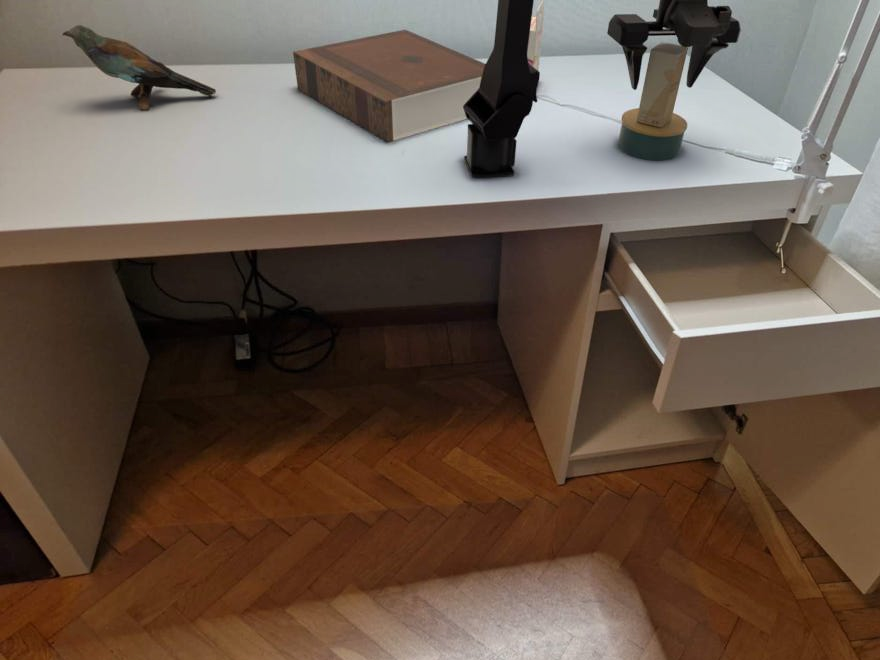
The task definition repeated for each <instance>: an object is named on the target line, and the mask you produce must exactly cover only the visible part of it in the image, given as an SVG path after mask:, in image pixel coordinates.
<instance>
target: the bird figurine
mask: <svg viewBox="0 0 880 660" xmlns="http://www.w3.org/2000/svg"><path fill="white" fill-rule="evenodd" d="M61 36H64V37H65V36H66V37H68V38H71V39H72V40H73V41H74V43H75V45H76V46H77V47H78V48H79V49H81V51H82V52H83V53H84V54H85V55H86V56H87V58H89V60H90V61H91V62H92V64H94V66H95V67H96V68H97V69H98V70H99V71H100V72H101V73H103V74H105V75H107V76H108V77H111V78H117V79H121V80H123V81H125V82H129V83H133V84H138V85H136V86H135V87H134V88H133V89H132V90H131V92H130V96H131V97H133V98H135V99H138V102H139V104H138V106H139V108H140V109H141V110H143V111H147V110H148V109H149V107H150V103H151V97H152V91H153V88H154V87H155V88H161V89H162V88H163V89H177V90H178V89H179V90H183V89H184V90H188V91H193V92H198V93H200V94H201V95H203V96H207V97H209V98H211V97H213V95H215V94H216V90H217V89H215V88H213V87H211V86H210V85H206V84H204V83H202V82H199V81H197V80H195V79H192V78H190V77H188V76H186V75H184V74H183V75H182V74H181V73H178V72H176V71H174V70H173V69H171V68H169V67H167V66H166V65H165V64H164V63H163V62H160V61H157V60H155V59H153V58H152V57H150V56H149V55H148V54H146V53H144V52H143V51H141V50H140V49H138V48H137V47H136V46H135V45H132V44H130V43H129V42H126V41H124V40H119V39H114V38H111V37H107V36H102V35H99V34H97V33H96V32H95V31H94V30H93V29H91V28H90V27H87V26H84V25H82V24H77V25H74V26H73V27H71V28H70V29H68V30H65V31H64V32H63V33H62V35H61Z"/></svg>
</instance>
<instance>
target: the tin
mask: <svg viewBox="0 0 880 660" xmlns="http://www.w3.org/2000/svg"><path fill="white" fill-rule="evenodd" d="M638 111H639V107H637V108H632V109H628V110H626V111H624V112H623V113H622V115H621V120H620V121H621V126H620V132H619V136H618V142H617V145H618V148H619V149H620V150H621V151H622V152H624V153H625V154H627V155H628V156H631V157H634V158H637V159H641V160H647V161H667V160H671V159H675V158H676V157H677V156H678V155H679V154H680V152H681V149H682V144H683V139H684V135H685V132H686V131H687V129H688V122H687V120H686V119H685V118H683V117H682V116H681V115H679V114H677V113H674V112H673V114H672V118H671V120H670V121H669V122H667V123H666V124H665V125H664V126H663V127H661V128H660V127H656V126H652V125H648V124H644V123H640V122H637V116H638Z"/></svg>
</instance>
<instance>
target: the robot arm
mask: <svg viewBox="0 0 880 660" xmlns="http://www.w3.org/2000/svg"><path fill="white" fill-rule="evenodd" d="M534 1H535V0H497V9H496V21H495V32H494V41H493V42H494V44H493V49H492V52H491V53H490V55H489V57H488V58H487V61H486V63H485V66H484V70H483V74H482V78H481V82H480V86H479V89H478V90H477V91H476V92H475V93H474V94H473V95H472V96H471V98H470V99H469V100H468V101H467V102H466V103H465V104H464V105H463V109H464V112H465V115H466V118H467V119H466V120H468V121H469V122H470V123H469V124H467V138H466V139H467V140H466V141H467V142H466V155H464V156H463V161H464V163H465V165H466V167H467V170H468V172H469V174H470V176H471V177H472V178H487V177H490V178H491V177H503V176H504V177H506V176H513V175H514V174H515V169H514V168H513V167H514V166H515V164H516V152H517V139H516V138H517V137H518V134H519V132H520V130H521V127H522V125H523V122H524V119H525V118H526V117H528V116H530V114H531V112H532V108H533V104H534V103H537V102H538V96H537V89H538V86H539V85H538V84H539V82H540V75H541V72H540V70H539V69H538V70H536V69H535V68H534V67H533V66H531V65H530V64H529V63H528V57H527V51H528V43H529V35H530V27H531V19H532V17H533V10H534V3H535V2H534ZM708 3H709V2H708V0H659V2H658V8H656V9H655V8H654V9H653V13H652V14H653V15H652V18H654V19H655V21H654V20H653V21H651V20H650V21H646V20H645V19H643V18H642V17H641V16H640V15H638V14H636V13H622V14H621V13H620V14H619V13H618V14H614V15H613V16H612V17H611V18H610V20H609V22H608V26H607V31H606V35H608V36H609V37H610V38H612V40H613V41H615V42H616V43H617V44H619V45H620V46H621V47H622V51H623V54H624V57H625V61H626V66H627V71H628V76H629V81H630V86H631V89H632V90H634V91H636V90H637V89H638V86H639V81H640V76H641V70H642V63H643V57H644V55H645V53H646V52H647V50H648V47H647V46H646V45H645V43H646V42H647V41H648V39H649V37H658V36H659V37H662V36H664V37H665V36H676V38H677V43H678V45H680V46H683V47H687V48H691V51H690V57H689V63H688V67H687V73H686V83H685V84H686V88H690V89H691V88H692V87H693V86H694V84H695V83H696V81H697V79H699V76H700V75H701V73H702V72H703V71H704V68H705V67H706V65H707V64H708V62H709V61H710V60H711V59H712V58H713V56H714V55H715V54H716V53H718V52H719V51H720V50H723V49H727V48H728V47H729V46H730V44H736V43H738V42H739V38H740V34H741V31H742V29H741V23H740V22H739V20H737V19H736V18H734V17H732V14H733V11H732V9H731V7H730V6H729V5H717V6H711V5H710V6H709V5H708Z"/></svg>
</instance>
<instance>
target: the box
mask: <svg viewBox="0 0 880 660" xmlns="http://www.w3.org/2000/svg"><path fill="white" fill-rule="evenodd" d="M688 50H689V47H683V46H681V45H680V44H676V43H675V44H674V43H670V42H665V41H663V42H660V43H658V44H657V45H655V46H654V47H652V48H651V49H650V52H649V58H648V62H647V67H646V72H645V76H644V81H643V87H642V93H641V97H640V101H639V107H638V108H639V111H638V116H637V122H640V123H644V124H648V125H652V126H656V127H660V128H661V127H663V126H664V125H665V124H666V123H667V122H669V121H670V120H671V118H672V114H673V113H674V110H675V106H676V101H677V97H678V93H679V88H680V84H681V81H682V75H683V71H684V67H685V63H686V59H687V54H688Z"/></svg>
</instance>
